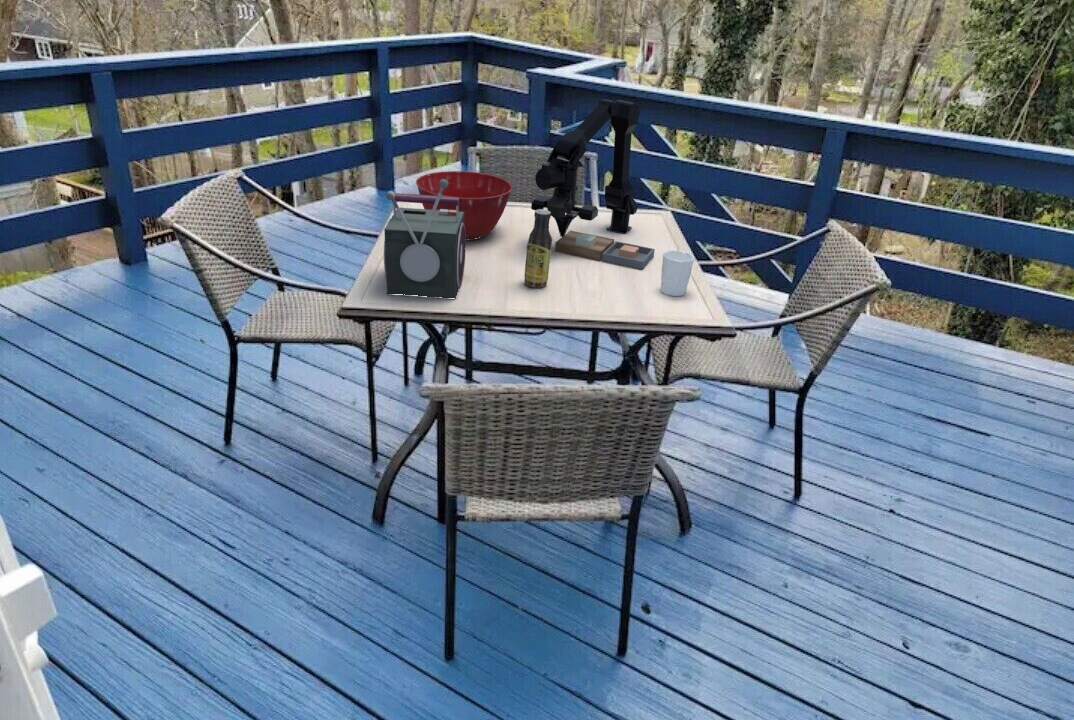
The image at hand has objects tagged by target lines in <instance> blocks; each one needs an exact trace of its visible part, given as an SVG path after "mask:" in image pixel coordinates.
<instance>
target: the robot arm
mask: <svg viewBox="0 0 1074 720" xmlns="http://www.w3.org/2000/svg"><path fill="white" fill-rule="evenodd" d="M640 110H641V109H640V107H639V105H638V104H637V103H634V102H630V101H625V100H621V99H617V100H615V101H614V100H610V99H605V98H603V99H601V100H599V102H598V104H597V106H596V107H595V108H594V109H593V110H592V111H591V112H590V113H589V114H588V115H587V116H586V118H585V119H584V120H582V122H581V123H580V124H579V125H578V126H577V127H576V128H575V129H574V130H571V131H568V132H566V133H564V134H563V135H561V136H560V137H559V138H558V139H557V141H556V142H555V145H554V146H553V149H552V150H551V152H550V154H549V156H548V159H547V160H546V162H547V163H542V164H541V168H540V169H538V170H537V172H536V174H535V176H534V178H535V180H534V181H535V183H536V186H537V187H538V188H539V190H541V191H546V190H551V189H554V190H553V194H552V196H551V197H549V196H547V197H546V196H543V195H539V196H537V197H536V198H534V199H533V200H532V201H531V206H530V209H531V210H533V211H536V210H538V209H544V208H545V209H546V210H548V211H550V212H551V217H552V218H553V219H554V220H555V223H556V225H557V230H558V233H559V236H560V238H562V237H564V236H565V234H567V231H568V229H569V227H570V225H571V223H572V222H573V220H575V218H579V219H580V220H584V221H589V222H590V221H593V220H594V219H595V218H596V217H598V216H599V209H598V207H597V206H595V205H592V204H584V205H582V206H576V205H577V200H576V195H577V194H576V193H577V191H578V185H577V184H578V183H577V181H578V172H579V168H582V167H584V164H583V163H582V162H581V159H582V158H583V156H584V154H585V153H586V151H587V150H588V144H589V142H590V141H591V140H592V139H593V138H594V137H595V135H596V134H597V133H598V132H599V131H600V130H601V129H602V128H603V126H604V125H606V123H607V122H608V121H610V125H611V127H612V129H613V132H614V142H613V143H614V144H613V160H612V173H611V174H612V176H611V180H610V182H609V183H608V184H607V185H605V187H604V196H603V199H604V200H605V207H606V209H607V210H610V211H611V218H610V225H609V226H608V227H607V228H606V231H611V232H616V233H620V234H627V233H628V232H630V230H631V229H632V228H633V227H632V226H629V225H630V224H629V223H630V217H631V216H633V215H635V214H636V213H637V212H638V207H639V205H638V203H637V202H636V200H635V198H634V192H633V191H634V189H633V187H632V185H631V182H630V180H629V178H630V177H629V175H630V163H631V162H630V161H631V149H632V147H631V146H632V133H633V131H634V130H635V129H636V127H637V125H638V124H639V118H640V114H641V112H640ZM545 209H544V210H545Z"/></svg>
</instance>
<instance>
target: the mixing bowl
mask: <svg viewBox="0 0 1074 720" xmlns="http://www.w3.org/2000/svg"><path fill="white" fill-rule="evenodd" d="M442 179H445V180H447V181H448V186H447V187H446V188H444V189H443V192H442V195H441V196H445V197H459V211H458V212H464V225H465V234H466V241H468V240H467V239H475V238H479V237H482V236H483V237H485V236H486V235H489V234H490V233H491V232H492V231H494V229H495V228H496V226H497V224H498V223H499V221H500V219H501V218H502V216H503V214H504V211H505V209H506V206H507V204H508V201H509V198H510V194H511V192H512V191H513V184H512V183H511V182H509V181H508V180H506V179H504V178H502V177H500V176H496V175H493V174H489V173H488V174H487V173H482V172H476V171H463V170H448V171H446V170H445V171H437V172H431V173H426V174H423V175H421V176H419V177H417V179H416V181H415V184H416V186H417V190H418V195H430V196H438V193H439V190H440V188H441V187H440V184H439V183H440V181H441V180H442ZM421 204H422V207H423V209H429V210H432V209H433V206H434V204H425V203H421ZM440 209H447V210H456V206H455V205H440V204H438V205H437V208H436V210H440ZM483 237H482V238H483ZM479 239H480V238H479ZM475 240H476V239H475Z"/></svg>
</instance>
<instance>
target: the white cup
mask: <svg viewBox="0 0 1074 720" xmlns="http://www.w3.org/2000/svg"><path fill="white" fill-rule="evenodd" d="M694 261H695V257H694V255H693V254H691V253H689V252H687V251H683V250H675V249H674V250H671V249H670V250H667V251H664V253H663V255H662V265H661V275H660V288H659V289H660V291H661V293H663V294H665V295H668V296H670V297H671V296H672V297H681V296H684V295H686V293H687V289H688V285H689V281H690V278H691V274H692V269H693V265H694Z"/></svg>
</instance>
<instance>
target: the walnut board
mask: <svg viewBox="0 0 1074 720" xmlns="http://www.w3.org/2000/svg"><path fill="white" fill-rule="evenodd" d="M581 234H586V235H591V236H596V242H595V244H594V245H593V246H591V247H585V246H580V245H576V238H577V237H578V236H579V235H581ZM614 242H615V239H614V238H611V237H610V238H609V237H605V236H600V235H594V234H590V233H585V232H580V231H574V230H569V231H568V232H566V234H565V236H564V237H560V238H559V239H558V240H557V241H555V246H554V252H555V253H557V254H558V253H559V254H563V255H568V256H572V257H576V258H577V257H578V258H582V259H586V260H587V259H588V260H592V261H596V262H602V254H603V253H604V252H605V251H606V250H607V249H608V248H609V247H610V246H611V245H612V244H613V243H614Z"/></svg>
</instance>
